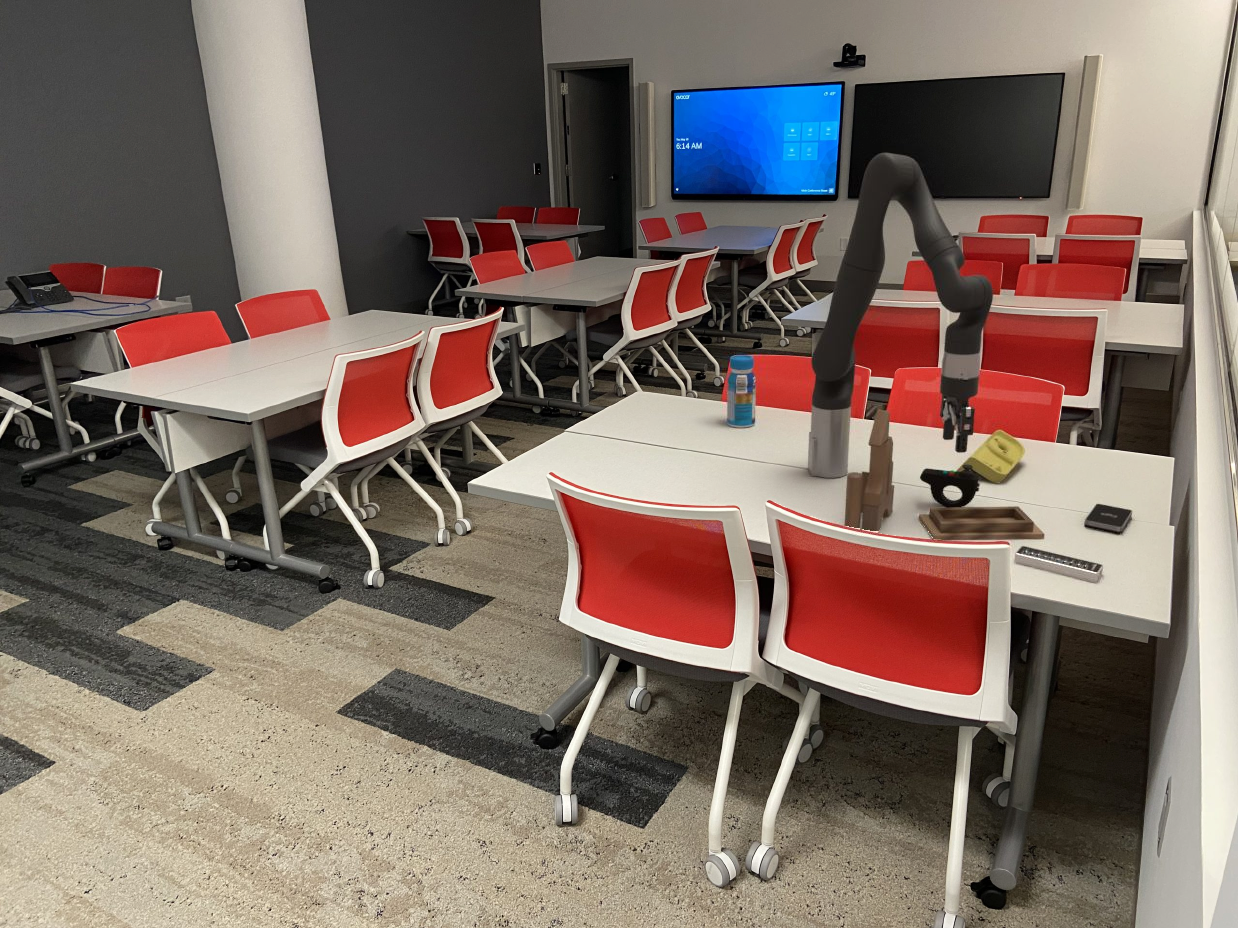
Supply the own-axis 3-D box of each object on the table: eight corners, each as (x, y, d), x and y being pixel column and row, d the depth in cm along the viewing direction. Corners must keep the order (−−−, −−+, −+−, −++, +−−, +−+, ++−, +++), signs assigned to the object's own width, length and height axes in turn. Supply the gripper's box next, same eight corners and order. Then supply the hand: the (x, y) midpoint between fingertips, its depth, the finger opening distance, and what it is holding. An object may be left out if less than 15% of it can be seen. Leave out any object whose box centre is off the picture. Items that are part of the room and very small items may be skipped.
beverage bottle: (720, 424, 258) (720, 357, 251) (739, 418, 263) (739, 352, 256) (743, 430, 252) (743, 362, 245) (761, 423, 257) (762, 356, 251)
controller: (975, 514, 191) (980, 470, 187) (916, 505, 196) (919, 463, 193) (977, 506, 194) (982, 464, 191) (919, 498, 200) (923, 457, 196)
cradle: (933, 540, 179) (934, 526, 178) (918, 518, 190) (919, 505, 189) (1043, 538, 178) (1045, 524, 177) (1023, 516, 188) (1024, 503, 187)
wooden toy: (862, 507, 197) (868, 399, 188) (892, 512, 194) (900, 402, 185) (842, 533, 184) (848, 418, 176) (874, 538, 181) (882, 422, 173)
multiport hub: (1020, 555, 172) (1021, 545, 171) (1102, 575, 163) (1104, 564, 162) (1013, 563, 169) (1014, 553, 168) (1096, 584, 160) (1097, 573, 159)
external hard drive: (1131, 519, 186) (1133, 510, 186) (1120, 537, 178) (1121, 528, 178) (1095, 511, 190) (1096, 503, 190) (1082, 529, 182) (1084, 520, 182)
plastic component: (1004, 477, 205) (966, 452, 208) (988, 499, 209) (951, 475, 213) (1030, 447, 218) (994, 425, 222) (1014, 469, 223) (979, 447, 227)
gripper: (931, 365, 192) (927, 436, 198) (952, 381, 179) (947, 457, 184) (967, 364, 192) (961, 435, 197) (990, 380, 178) (983, 455, 184)
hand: (954, 445), depth 191 cm, fingers open, 8 cm apart
